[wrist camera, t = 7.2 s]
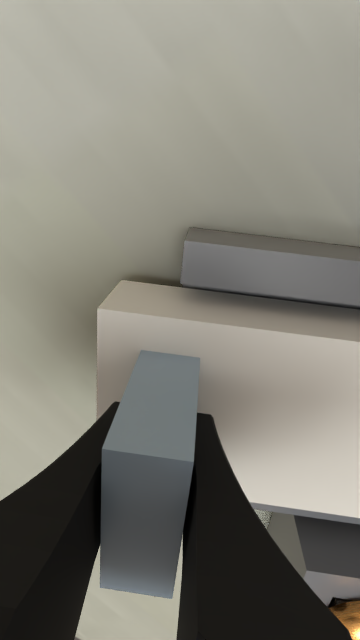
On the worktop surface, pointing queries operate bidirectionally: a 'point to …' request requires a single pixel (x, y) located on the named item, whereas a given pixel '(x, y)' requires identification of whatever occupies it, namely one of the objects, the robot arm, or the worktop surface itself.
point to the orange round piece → (347, 614)
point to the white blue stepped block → (219, 414)
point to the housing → (307, 287)
